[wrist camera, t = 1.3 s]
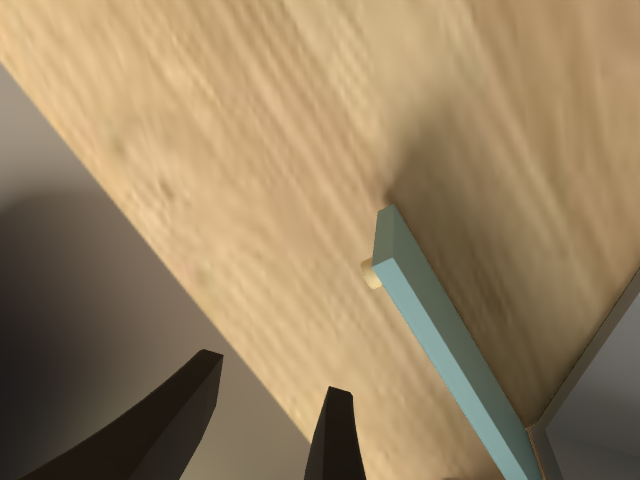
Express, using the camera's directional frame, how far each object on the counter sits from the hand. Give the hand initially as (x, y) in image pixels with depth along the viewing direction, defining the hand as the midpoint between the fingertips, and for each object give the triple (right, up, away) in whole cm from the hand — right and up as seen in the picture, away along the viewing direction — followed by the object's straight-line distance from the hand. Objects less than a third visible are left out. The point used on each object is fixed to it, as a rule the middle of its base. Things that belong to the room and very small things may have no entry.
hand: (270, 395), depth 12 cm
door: (+8, 0, +9) cm, 12 cm away
